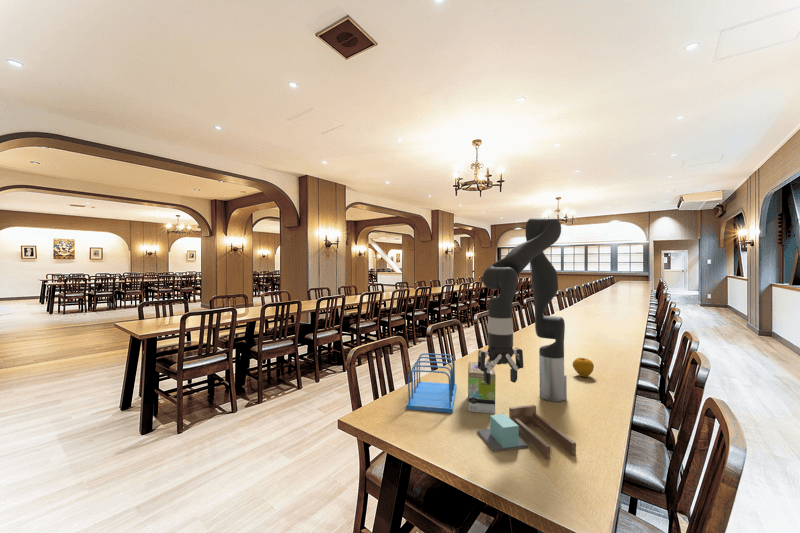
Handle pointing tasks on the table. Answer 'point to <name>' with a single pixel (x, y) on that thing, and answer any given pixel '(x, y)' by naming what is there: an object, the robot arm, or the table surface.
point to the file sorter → (432, 388)
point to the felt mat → (494, 444)
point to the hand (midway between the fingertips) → (500, 382)
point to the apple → (583, 366)
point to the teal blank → (504, 430)
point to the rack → (529, 416)
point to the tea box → (480, 390)
